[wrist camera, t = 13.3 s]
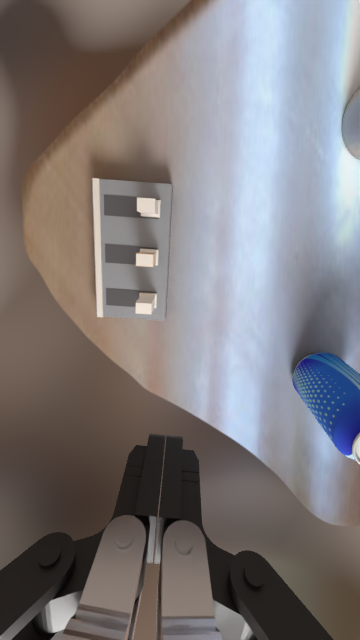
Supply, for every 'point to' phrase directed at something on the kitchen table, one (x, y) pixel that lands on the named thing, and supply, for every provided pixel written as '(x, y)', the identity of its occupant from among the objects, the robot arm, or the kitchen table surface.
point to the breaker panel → (131, 247)
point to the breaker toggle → (147, 257)
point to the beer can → (332, 398)
